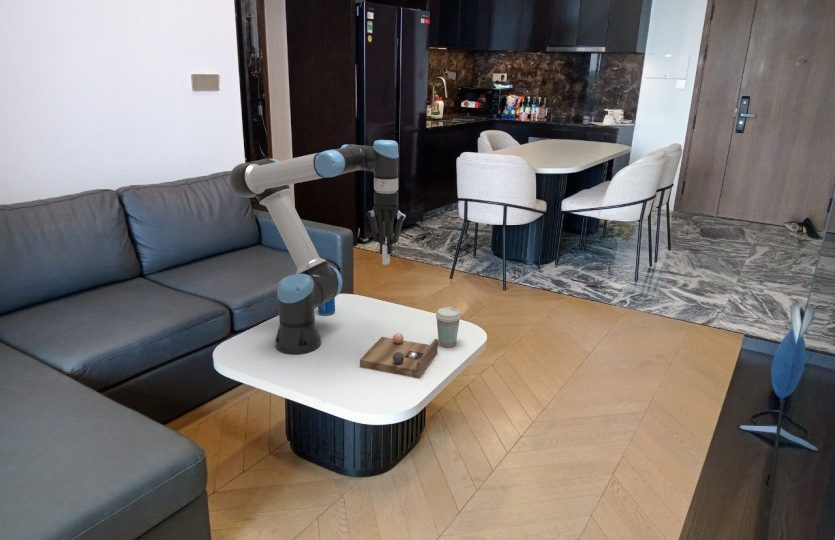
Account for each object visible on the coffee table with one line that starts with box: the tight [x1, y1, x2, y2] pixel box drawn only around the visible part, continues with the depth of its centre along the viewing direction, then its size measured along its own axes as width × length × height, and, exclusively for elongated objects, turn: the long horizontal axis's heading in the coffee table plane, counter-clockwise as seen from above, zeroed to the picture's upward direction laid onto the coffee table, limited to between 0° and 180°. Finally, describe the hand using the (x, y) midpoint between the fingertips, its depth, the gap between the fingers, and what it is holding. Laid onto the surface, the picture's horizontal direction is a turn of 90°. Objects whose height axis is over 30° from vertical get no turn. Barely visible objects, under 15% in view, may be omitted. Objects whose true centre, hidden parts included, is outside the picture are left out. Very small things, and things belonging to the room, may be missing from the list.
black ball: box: [393, 352, 404, 363], centre depth 181 cm, size 4×4×4 cm
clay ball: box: [392, 332, 405, 344], centre depth 194 cm, size 4×4×4 cm
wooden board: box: [359, 336, 439, 379], centre depth 188 cm, size 20×18×5 cm
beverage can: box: [317, 297, 336, 316], centre depth 222 cm, size 6×6×12 cm
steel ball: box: [408, 352, 419, 360], centre depth 187 cm, size 4×4×4 cm
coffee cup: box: [435, 306, 462, 348], centre depth 199 cm, size 8×9×12 cm
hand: (386, 263), depth 189 cm, fingers closed
